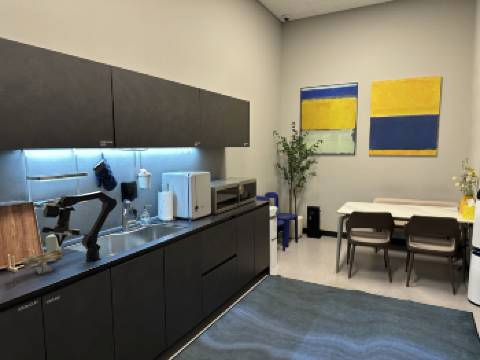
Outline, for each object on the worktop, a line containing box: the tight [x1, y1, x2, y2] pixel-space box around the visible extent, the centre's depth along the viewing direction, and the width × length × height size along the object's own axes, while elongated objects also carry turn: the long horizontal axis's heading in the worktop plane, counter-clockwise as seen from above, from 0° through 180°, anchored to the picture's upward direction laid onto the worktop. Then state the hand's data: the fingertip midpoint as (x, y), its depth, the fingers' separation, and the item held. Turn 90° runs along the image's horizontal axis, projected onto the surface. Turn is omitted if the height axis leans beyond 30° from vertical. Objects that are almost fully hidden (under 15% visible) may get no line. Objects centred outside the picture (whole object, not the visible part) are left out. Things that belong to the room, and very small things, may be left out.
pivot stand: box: [35, 261, 54, 275], centre depth 183 cm, size 7×11×6 cm, turn 37°
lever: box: [21, 247, 63, 269], centre depth 183 cm, size 18×7×6 cm, turn 127°
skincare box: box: [45, 233, 62, 262], centre depth 202 cm, size 8×6×15 cm
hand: (59, 246), depth 186 cm, fingers closed
